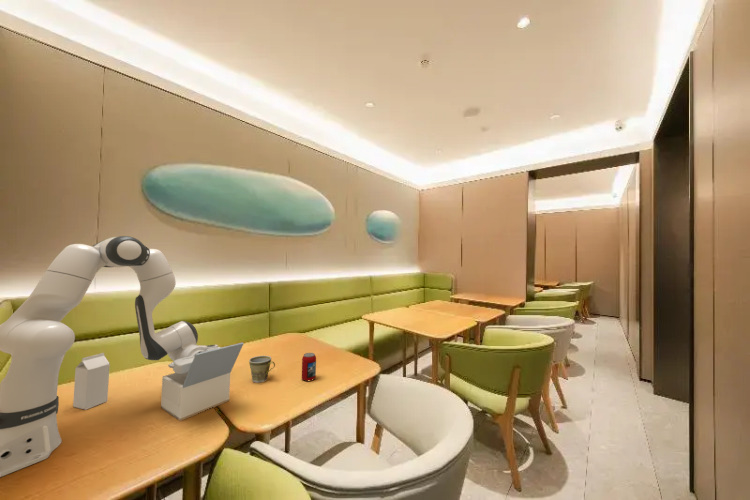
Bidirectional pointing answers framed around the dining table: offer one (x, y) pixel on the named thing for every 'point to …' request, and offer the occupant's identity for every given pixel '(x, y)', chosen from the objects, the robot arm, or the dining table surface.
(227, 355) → the carton lid flap
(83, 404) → the milk carton
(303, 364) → the beverage can
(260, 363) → the ceramic cup
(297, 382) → the dining table surface
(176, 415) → the carton
